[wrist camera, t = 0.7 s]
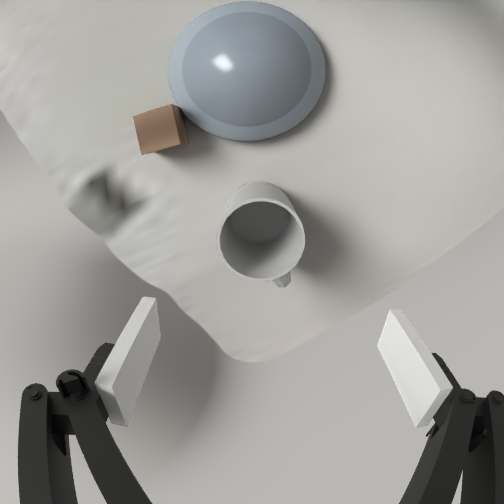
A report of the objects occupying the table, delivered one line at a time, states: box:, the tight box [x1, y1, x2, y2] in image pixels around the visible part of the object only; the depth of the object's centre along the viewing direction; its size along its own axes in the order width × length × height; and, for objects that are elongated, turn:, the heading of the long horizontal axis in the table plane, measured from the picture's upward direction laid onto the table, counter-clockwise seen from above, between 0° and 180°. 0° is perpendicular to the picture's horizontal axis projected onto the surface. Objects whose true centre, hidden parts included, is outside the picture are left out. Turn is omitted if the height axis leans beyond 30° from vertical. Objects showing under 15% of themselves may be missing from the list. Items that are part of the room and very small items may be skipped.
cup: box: [216, 182, 305, 287], centre depth 29 cm, size 7×10×9 cm
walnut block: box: [133, 104, 189, 155], centre depth 27 cm, size 4×4×4 cm
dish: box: [168, 1, 326, 141], centre depth 26 cm, size 16×16×1 cm
